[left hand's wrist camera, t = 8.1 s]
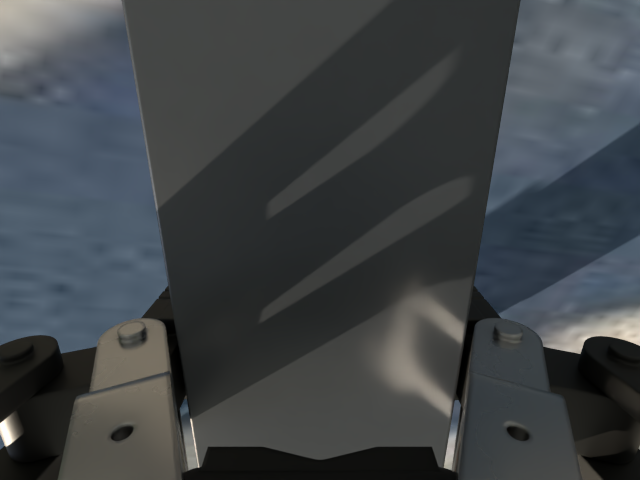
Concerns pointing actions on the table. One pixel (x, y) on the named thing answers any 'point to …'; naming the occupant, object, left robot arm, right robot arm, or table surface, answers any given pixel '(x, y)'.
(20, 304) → the table surface
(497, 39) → the box
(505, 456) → the left robot arm
